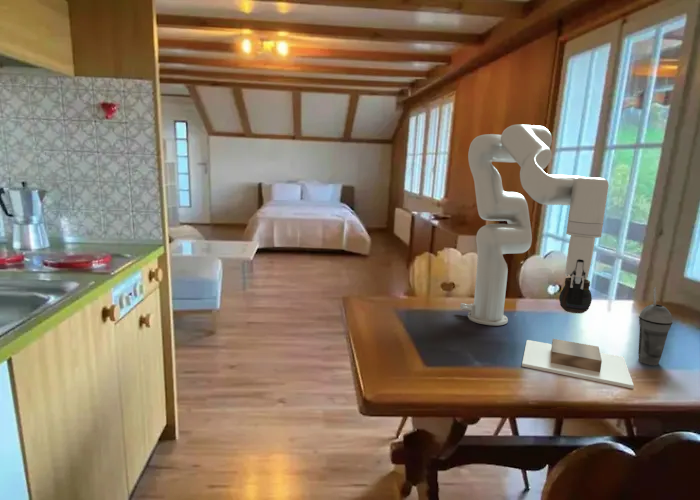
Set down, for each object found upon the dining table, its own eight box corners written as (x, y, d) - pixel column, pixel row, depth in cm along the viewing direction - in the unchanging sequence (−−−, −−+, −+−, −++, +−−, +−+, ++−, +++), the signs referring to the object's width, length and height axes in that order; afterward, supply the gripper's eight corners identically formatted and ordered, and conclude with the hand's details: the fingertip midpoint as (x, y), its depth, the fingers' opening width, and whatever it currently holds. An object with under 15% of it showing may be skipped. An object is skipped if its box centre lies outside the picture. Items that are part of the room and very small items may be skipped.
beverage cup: (666, 370, 113) (679, 293, 109) (632, 362, 116) (644, 288, 113) (664, 360, 119) (676, 287, 115) (632, 353, 123) (643, 283, 119)
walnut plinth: (550, 362, 113) (552, 351, 112) (551, 349, 122) (552, 338, 121) (600, 372, 108) (601, 360, 108) (596, 357, 117) (598, 346, 117)
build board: (521, 366, 112) (522, 363, 112) (526, 342, 128) (526, 339, 128) (633, 388, 102) (633, 385, 102) (623, 359, 118) (623, 356, 118)
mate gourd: (575, 316, 106) (580, 276, 104) (550, 307, 113) (554, 269, 111) (596, 314, 109) (602, 274, 107) (571, 305, 116) (575, 267, 114)
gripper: (567, 224, 116) (558, 289, 120) (566, 232, 101) (556, 306, 105) (600, 226, 113) (590, 293, 117) (603, 235, 98) (592, 312, 101)
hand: (574, 299), depth 111 cm, fingers closed on mate gourd, 7 cm apart
